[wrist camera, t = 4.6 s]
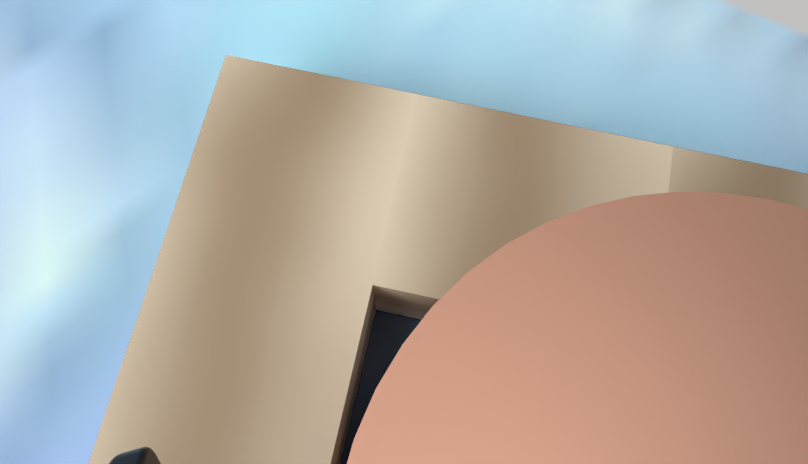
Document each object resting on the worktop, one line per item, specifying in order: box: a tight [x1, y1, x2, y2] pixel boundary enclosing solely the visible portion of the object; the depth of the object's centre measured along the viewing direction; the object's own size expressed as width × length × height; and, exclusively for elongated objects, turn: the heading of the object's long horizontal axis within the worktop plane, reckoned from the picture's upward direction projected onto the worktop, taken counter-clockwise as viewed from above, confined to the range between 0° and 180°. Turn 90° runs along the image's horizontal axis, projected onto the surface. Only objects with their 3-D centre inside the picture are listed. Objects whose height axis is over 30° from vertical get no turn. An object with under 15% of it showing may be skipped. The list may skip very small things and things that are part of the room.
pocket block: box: [89, 55, 808, 464], centre depth 13 cm, size 14×14×3 cm
